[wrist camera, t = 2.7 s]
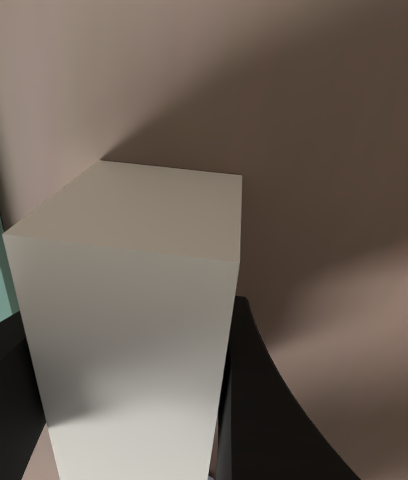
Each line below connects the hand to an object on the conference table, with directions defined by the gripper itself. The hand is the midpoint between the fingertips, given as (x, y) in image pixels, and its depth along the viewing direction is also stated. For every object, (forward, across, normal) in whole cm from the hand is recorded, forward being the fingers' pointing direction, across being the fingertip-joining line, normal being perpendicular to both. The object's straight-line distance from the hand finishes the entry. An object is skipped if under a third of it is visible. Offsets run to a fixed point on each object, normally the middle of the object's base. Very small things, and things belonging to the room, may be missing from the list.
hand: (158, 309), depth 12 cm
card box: (+1, 0, 0) cm, 1 cm away
